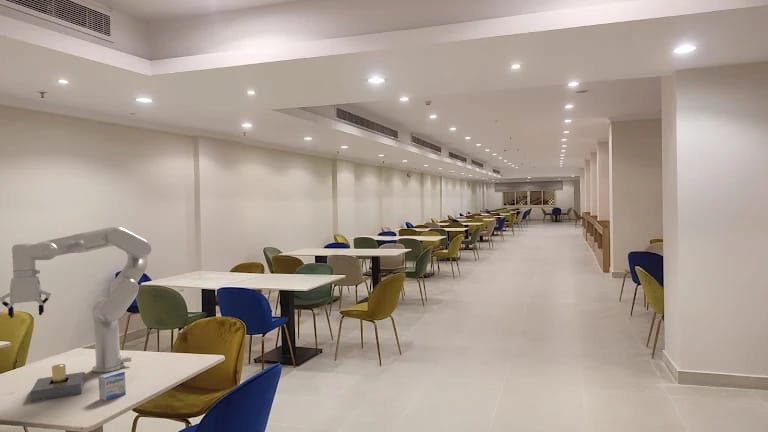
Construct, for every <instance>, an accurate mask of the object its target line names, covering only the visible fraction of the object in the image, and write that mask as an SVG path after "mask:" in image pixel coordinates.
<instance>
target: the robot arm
mask: <svg viewBox="0 0 768 432" xmlns="http://www.w3.org/2000/svg"><path fill="white" fill-rule="evenodd" d="M111 247H116V248H118V249H120V250H122V251H123V252H125V254H126V255H127V261H126V264H125V266H124V267H123V269H121V271H120V272H119V274H118V275H117V276H116V278H115V279H114V280H113V281H112V282H111V283H110V287H109V290H110V294H109V296H105V297H100V298H98V299H97V300H96V301H95V302H94V304H93V305H92V310H91V311H92V319H93V326H94V327H93V329H94V347H95V350H94V351H95V365H94V366H92V369H91V370H92V372H93V373H111V372H115V371H119V370H120V369H122V368H124V367H125V363H130V362H132V356H125V357H123V356H122V355H121V351H120V349H121V348H120V345H121V344H120V327H119V325H120V324H119V319H120V318H121V317H122V316H123V315H124V314H125V312H126V311H127V310H128V308H129V307H130V306H131V305H132V303H133V302H134V301H135V299H137V296H138V293H139V290H140V289H139V288H140V286H139V283H138V282H139V281H140V279H141V277H143V274H144V273H145V272H146V269H147V267H148V257H149V255H150V254H151V252H152V245H151V243H150V242H149V241H148V240H146V239H144V238H143V237H141V236H138V235H136V234H134V233H133V232H131V231H129V230H127V229H125V228H123V227H120V226H111V227H110V226H109V227H105V228H100V229H94V230H91V231H86V232H81V233H75V234H71V235H68V236H62V237H57V238H54V239H53V238H52V239H48V240H42V241H40V242H37V243H34V244H33V243H17V244H14V245H13V246H12V248H11V251H12V252H11V254H12V257H11V258H12V276H13V277H12V278H11V280H10V287H9V292H8V293H6V294H4V295H3V296H0V303H1V304H2V305H3V306H4V307H5V308H7V311H8V312H7V313H8V317H9V318H10V319H13V318H14V317H15V312H14V309H15V308H14V307H13V306H14V305H15V304H20V303H21V304H22V303H31V302H32V303H33V302H36V303H38V304H39V305H38V316H42V315H43V313H44V312H45V309H44V307H45V304H46V303H47V302H48V300H50V297H51V295H52V293H51V292H48V291H46V290H42V287H41V283H40V278H39V276H38V274H41V270H39V269H36V261H51V260H53V259H55V258H56V257H58V256H63V255H69V254H75V253H76V254H81V253H88V252H93V251H97V250H101V249H105V248H111ZM42 295H44V296H45V298H44V299H43V300H42V299H41V298H42ZM7 298H9V301H10V302H8V301H6V299H7Z"/></svg>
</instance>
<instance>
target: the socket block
mask: <svg viewBox="0 0 768 432" xmlns="http://www.w3.org/2000/svg"><path fill="white" fill-rule="evenodd" d="M85 378H86V377H85V371H81V372H76V373H69V374H67V373H66V382H63V383H57V384H53V378H52V376H49V377H48V376H47V377H42V378H41V377H40V378H37V380H36V382H35V383H34V385H33V387H32V389H31V390H30V401H31V403H33V402H38V401H39V402H40V401H46V400H50V399H51V400H52V399H58V398H63V397H70V396H75V395H80V394H81V395H82V393H83V389H84V386H85V384H86V383H85V382H86V379H85Z"/></svg>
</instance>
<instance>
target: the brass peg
mask: <svg viewBox="0 0 768 432" xmlns="http://www.w3.org/2000/svg"><path fill="white" fill-rule="evenodd" d="M66 371H67V369H66V364H64V363H60V364H55V365H52V366H51V372H52V374H51V375H52V376H51V377H52V378H53V384H57V383H63V382H66V375H67V373H66Z"/></svg>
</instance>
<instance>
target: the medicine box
mask: <svg viewBox="0 0 768 432" xmlns="http://www.w3.org/2000/svg"><path fill="white" fill-rule="evenodd" d="M126 388H127V386H126V371H123V370H114V371H111V372H108V373H106V374H103V375H99V376H98V394H99V395H98V399H99V400H102V401H105V402H108V401H109V400H113V399H116V398H118V397H121V396H124V395H126V392H127V390H126Z"/></svg>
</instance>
